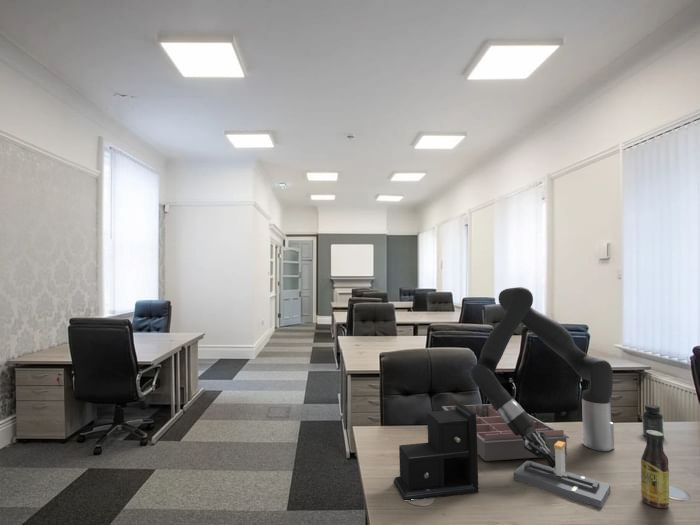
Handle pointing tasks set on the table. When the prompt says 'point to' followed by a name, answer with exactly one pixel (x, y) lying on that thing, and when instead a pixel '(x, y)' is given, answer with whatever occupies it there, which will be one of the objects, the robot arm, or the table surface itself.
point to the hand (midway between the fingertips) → (555, 466)
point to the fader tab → (560, 459)
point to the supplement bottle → (652, 419)
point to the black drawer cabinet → (441, 457)
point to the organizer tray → (506, 435)
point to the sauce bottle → (655, 471)
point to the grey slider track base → (563, 483)
